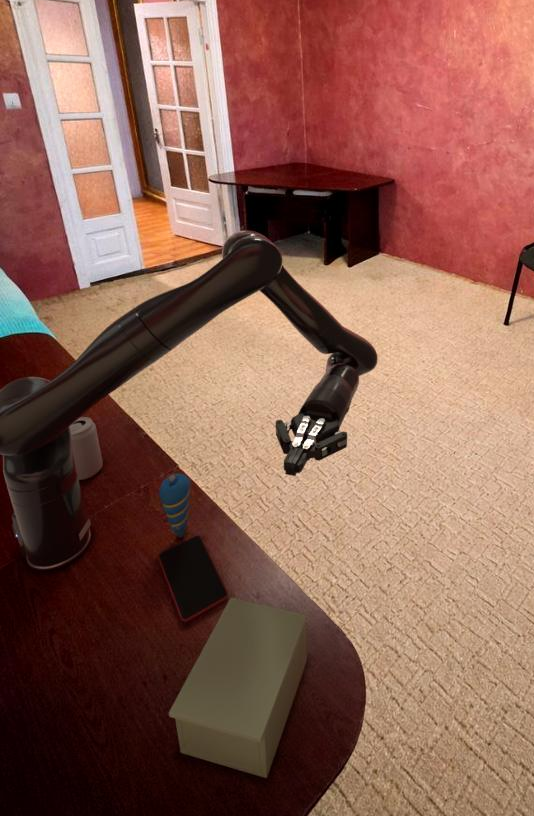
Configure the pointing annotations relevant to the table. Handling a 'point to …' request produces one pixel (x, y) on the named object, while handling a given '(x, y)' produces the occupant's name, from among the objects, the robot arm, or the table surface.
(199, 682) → the lid
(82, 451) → the beverage can
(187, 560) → the smartphone
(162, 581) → the table surface
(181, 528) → the ornament
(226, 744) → the chest
